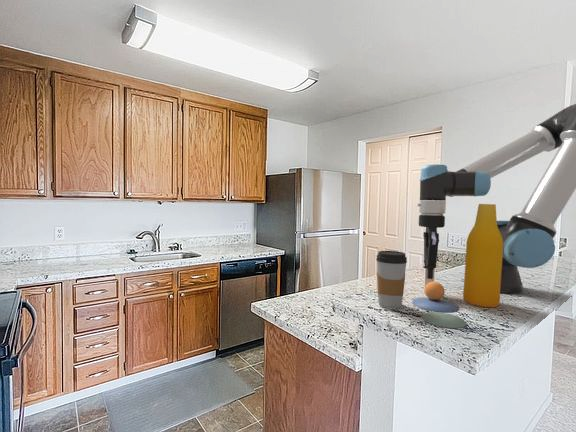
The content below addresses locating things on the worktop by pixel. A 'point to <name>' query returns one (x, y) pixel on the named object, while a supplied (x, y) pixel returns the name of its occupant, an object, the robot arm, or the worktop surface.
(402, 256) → the coffee cup
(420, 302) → the disc
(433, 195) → the robot arm
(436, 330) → the worktop surface
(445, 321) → the disc
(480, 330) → the worktop surface
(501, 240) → the beer bottle
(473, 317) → the worktop surface
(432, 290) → the ball
